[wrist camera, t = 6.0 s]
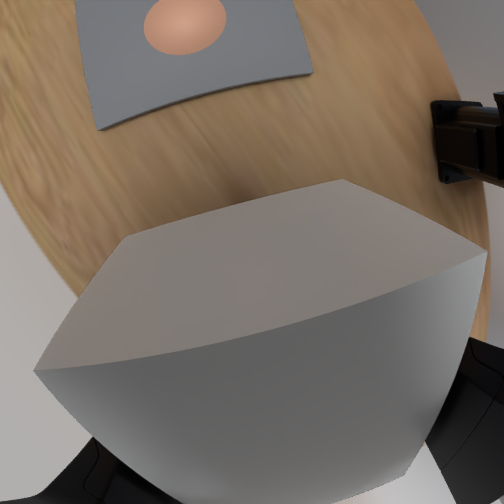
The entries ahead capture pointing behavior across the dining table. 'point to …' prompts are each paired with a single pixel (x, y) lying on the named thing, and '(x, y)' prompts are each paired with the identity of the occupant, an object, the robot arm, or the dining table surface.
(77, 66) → the dining table surface
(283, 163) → the dining table surface
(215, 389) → the white rectangular block
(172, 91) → the board
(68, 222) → the dining table surface
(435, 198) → the dining table surface
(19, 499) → the robot arm
